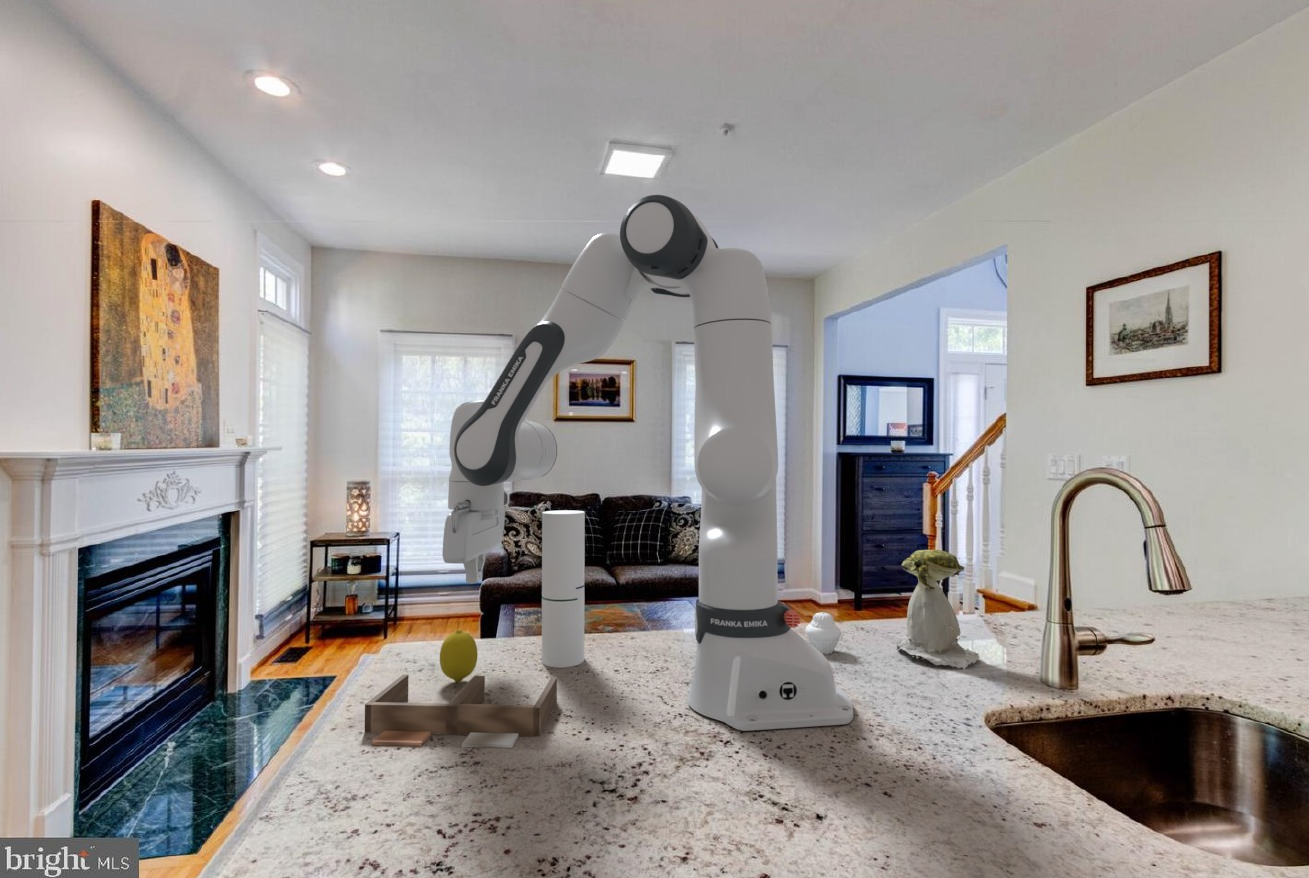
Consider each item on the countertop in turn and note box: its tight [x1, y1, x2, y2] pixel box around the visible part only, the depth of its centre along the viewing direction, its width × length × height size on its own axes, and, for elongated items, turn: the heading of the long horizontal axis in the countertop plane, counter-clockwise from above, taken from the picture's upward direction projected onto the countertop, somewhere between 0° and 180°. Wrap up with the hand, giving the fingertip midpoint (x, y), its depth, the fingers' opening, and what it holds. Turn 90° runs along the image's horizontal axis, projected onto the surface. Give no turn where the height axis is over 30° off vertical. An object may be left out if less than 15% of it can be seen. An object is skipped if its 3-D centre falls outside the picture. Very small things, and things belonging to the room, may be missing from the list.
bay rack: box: [364, 674, 558, 749], centre depth 83 cm, size 22×14×4 cm, turn 87°
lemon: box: [439, 629, 478, 683], centre depth 97 cm, size 6×6×8 cm
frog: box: [896, 549, 980, 669], centre depth 110 cm, size 12×13×18 cm
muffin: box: [804, 611, 842, 654], centre depth 112 cm, size 6×6×7 cm
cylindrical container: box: [541, 509, 586, 668], centre depth 108 cm, size 7×7×25 cm
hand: (474, 581), depth 105 cm, fingers closed
